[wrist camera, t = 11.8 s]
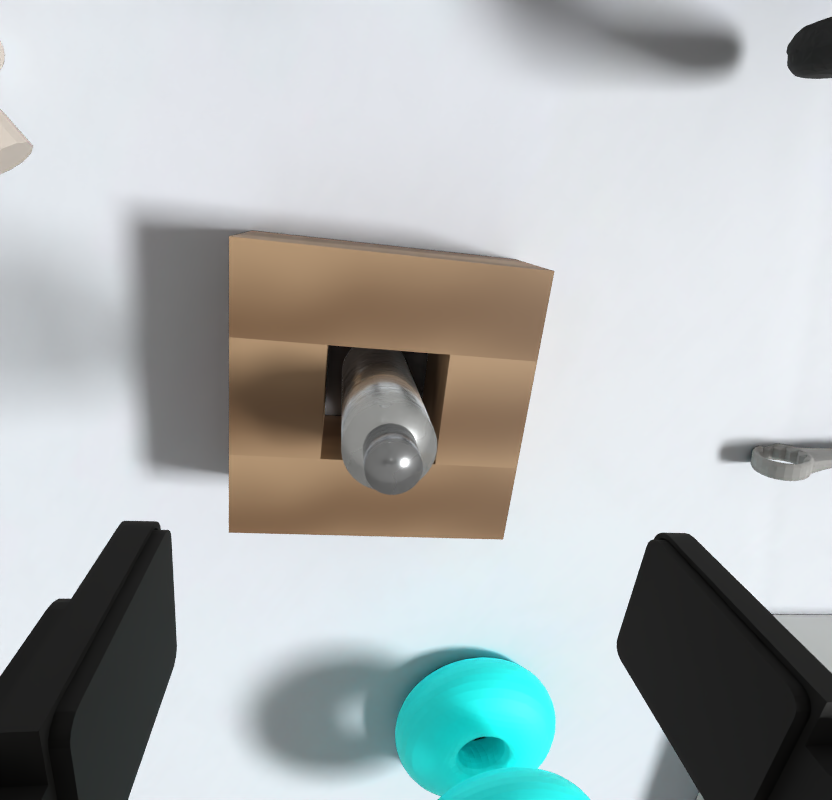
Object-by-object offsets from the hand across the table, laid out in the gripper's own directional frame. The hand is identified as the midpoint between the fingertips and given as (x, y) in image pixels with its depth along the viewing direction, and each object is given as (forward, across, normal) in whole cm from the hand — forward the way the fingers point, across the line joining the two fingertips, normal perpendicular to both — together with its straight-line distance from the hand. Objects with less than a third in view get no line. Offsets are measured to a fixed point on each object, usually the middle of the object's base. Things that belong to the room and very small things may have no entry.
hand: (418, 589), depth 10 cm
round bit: (+17, 0, +1) cm, 17 cm away
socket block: (+17, 0, +1) cm, 17 cm away
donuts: (+16, -8, +23) cm, 29 cm away
